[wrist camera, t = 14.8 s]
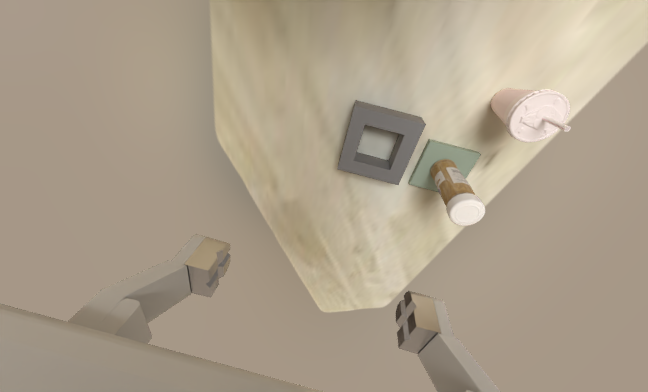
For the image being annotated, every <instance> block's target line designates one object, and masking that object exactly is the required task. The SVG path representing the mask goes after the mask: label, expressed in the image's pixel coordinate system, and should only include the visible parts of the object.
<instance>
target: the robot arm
mask: <svg viewBox="0 0 648 392" xmlns="http://www.w3.org/2000/svg"><path fill="white" fill-rule="evenodd" d="M229 250H230V244H229V243H226V242H222V241H219V240H216V239H212V238H209V237H205V236H202V235H198V234H196V235H194V236H193V237H192V238H191V239H190V240H189V241H188V242H187V243H186V244H185V246H184V247H183V248H182V249H181V250H180V251H179V253H178V254H177V255H176V256H175V257H174V258H173V259H172V260H171V261H165V262H163V263H161V264H158V265H156V266H154V267H152V268H149V269H147V270H145V271H142V272H140V273H138V274H136V275H133V276H131V277H129V278H126V279H125V280H122V281H120V282H117V283H115V284H113V285H111V286H109V287H106V288H104V289H102V290H100V292H98V293H97V294H96V295H95V296H94V297H93V298H92V299H91V300H90V301H89V302H88V303H87V304H86V305H85V306H84V307H83V308H81V310H79V311H78V312H77V313H76V314H75V315H74V316H73V317H72V318H71V319H70V320H69V321H68V322H66V321H63V320H59V319H55V318H51V317H47V316H44V315H41V314H37V313H33V312H29V311H26V310H22V309H18V308H14V307H11V306H7V305H4V304H0V392H323V391H319V390H316V389H312V388H308V387H305V386H301V385H297V384H294V383H290V382H286V381H283V380H279V379H275V378H271V377H268V376H264V375H260V374H257V373H253V372H250V371H246V370H242V369H239V368H235V367H231V366H228V365H224V364H220V363H217V362H213V361H209V360H206V359H202V358H198V357H195V356H191V355H187V354H184V353H180V352H176V351H172V350H169V349H165V348H161V347H158V346H154V345H150V344H148V342H149V341H150V339H151V338H152V335H151V332H150V329H149V327H148V324H147V323H149V322H150V321H152V320H153V319H155V318H156V317H158V316H159V315H161V314H162V313H163V312H165V311H167V310H168V309H169V308H171V307H172V306H174V305H175V304H177V303H179V302H180V301H182V300H183V299H184V298H186V297H187V296H189V295H191V293H194V294H198V295H203V296H207V297H211V296H212V294H213V293H214V291H215V290H216V288H217V286H218V284H219V283H218V282H219V281H218V279H219V278H221V277H223V276H224V275H225V273H226V271H227V269H228V266H229V263H230V255H229V253H228V251H229ZM404 299H405V300H402V301H400V302H399V304H398V306H397V310H396V323H397V324H398V326H399V327H400V329H399V331H398V332H397V336H398V347H399V349H403V350H406V351H410V352H413V353H416V354H418V357H419V358H420V360H421V362H422V364H423V366H424V368H425V369H426V371H427V373H428V375H429V377H430V379H431V380H432V382H433V384H434V386H435V388H436V390H437V391H438V392H500V391H499V389H498V388H497V387H496V386H495V384H494V383H493V382H492V381H491V379H490V378H489V377H488V376H487V374H486V373H485V372H484V371H483V369H482V368H481V367H480V366H479V364H478V363H477V362H476V361H475V359H474V358H473V357H472V356H471V355H470V353H469V352H468V351H467V349H466V348H465V347H464V346H463V344H462V343H461V342H460V341H459V339H458V338H454V334H453V331H452V327H451V325H450V321H449V317H448V314H447V310H446V307H445V303H444V302H443V300H441V299H437V298H433V297H430V296H426V295H422V294H419V293H415V292H410V291H408V292H406V293H405V295H404Z"/></svg>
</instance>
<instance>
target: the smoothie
mask: <svg viewBox="0 0 648 392" xmlns="http://www.w3.org/2000/svg"><path fill="white" fill-rule="evenodd" d="M491 108H492V110H493V111H494V112H495V113H496V115H497V116H498V117H499V118H500V119H501V120H502V122H503V123H504V124H505V125H506V128H507V131H508V133H509V134H510V135H511V136H512V137H514V138H515V139H517V140H519V141H522V142H536V141H540V140H543V139H545V138H547V137H549V136H551V135H553V134H554V133H555V132H557V131H558V130H559V129H561V130H563V131H566V132H567V131H569V130H570V129H571V128H570V127H569V126H567V125H565V124H564V123H565V121H566V120H567V118H568V115H569V112H570V104H569V101H568V99H567V98H566V97H565V96H564V95H563V94H561V93H559V92H557V91H554V90H545V89H543V90H538V91H531V90H522V89H512V88H506V89H502V90H500V91H499V92H497V93H496V94H495V95H494V97H493V98H492V100H491Z"/></svg>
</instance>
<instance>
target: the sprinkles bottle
mask: <svg viewBox="0 0 648 392" xmlns="http://www.w3.org/2000/svg"><path fill="white" fill-rule="evenodd" d="M430 173H431V176H432V178H433V179H434V181H435V184H436V187H437V189H438V191H439V193H440V195H441V197H442V199H443V201H444V203H445V205H446V210H447V213H448V215H449V218H450V219H451V221H452V222H454V223H455V224H458V225H462V226H467V225H472V224H474V223H476V222H478V221H479V220H481V219H482V217H483V216H484V214H485V207H484V205H483V203H482V201H481V200H480V198H479V197H478V196H476V195H475V194H474V192H473V190H472V188H471V187H470V185H469V184H468V182H467V181H466V179H465V178H464V176H463V175H462V173H461V172H460V171H459V170H458V168H457V165H456V164H455V163H454V162H453V161H452V160H449V159H443V160H439V161H437V162H436V163H435V164H434V165H433V166H432V168H431V171H430Z"/></svg>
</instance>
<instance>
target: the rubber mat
mask: <svg viewBox="0 0 648 392" xmlns="http://www.w3.org/2000/svg"><path fill="white" fill-rule="evenodd" d="M480 155H481V154H480V153H479V152H476V151H472V150H469V149H465V148H461V147H457V146H453V145H449V144H446V143H442V142H438V141H434V140H430V139H429V140H428V142H427V144H426V146H425V148H424V151H423V153H422V155H421V157H420V159H419V161H418V163H417V165H416V167H415V169H414V172H413V174H412V176H411V178H410V180H409V184H410V185H414V186H417V187H421V188H425V189H429V190H433V191H436V192H439V191H438V189H437V187H436V184H435V181H434V179H433V178H432V176H431V173H430V171H431V168H432V166H433V165H434V164H435V163H436V162H437V161H439V160H443V159H449V160H452V161H453V162H454V163H455V164H456V165H457V168H458V170H459V171H460V172H461V173H462V175H463V176H464V178H465V179H466V177H467V176H468V174H469V173H470V171H471V169H472V168H473V166H474V165H475V163H476V161H477V160H478V158H479V157H480Z"/></svg>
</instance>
